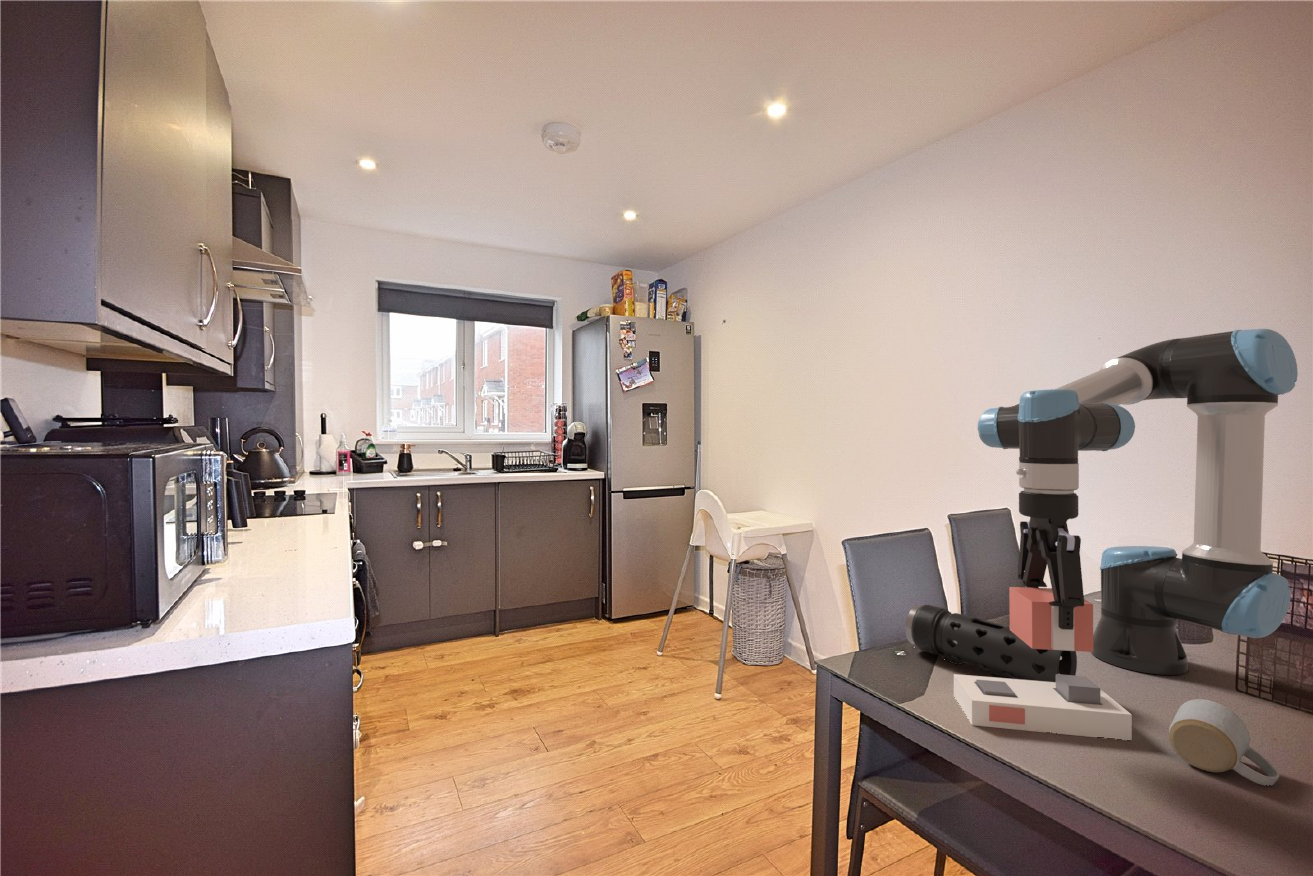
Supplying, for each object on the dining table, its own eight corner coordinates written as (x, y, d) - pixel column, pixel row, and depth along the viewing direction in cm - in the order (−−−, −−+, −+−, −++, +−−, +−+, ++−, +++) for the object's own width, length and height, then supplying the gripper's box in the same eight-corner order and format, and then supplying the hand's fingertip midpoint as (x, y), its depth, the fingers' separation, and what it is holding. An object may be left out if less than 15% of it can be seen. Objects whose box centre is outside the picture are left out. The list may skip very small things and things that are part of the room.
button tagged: (1004, 705, 96) (1004, 681, 96) (1015, 718, 92) (1015, 693, 92) (976, 702, 97) (976, 679, 97) (985, 715, 93) (985, 691, 93)
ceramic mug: (1165, 760, 81) (1166, 707, 80) (1177, 740, 86) (1178, 690, 86) (1275, 799, 72) (1277, 740, 72) (1281, 775, 77) (1283, 719, 77)
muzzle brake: (1056, 707, 97) (1057, 646, 97) (902, 655, 119) (902, 606, 119) (1077, 692, 102) (1077, 634, 102) (926, 645, 125) (926, 598, 125)
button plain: (1085, 700, 93) (1085, 676, 93) (1100, 713, 89) (1100, 688, 89) (1055, 698, 94) (1055, 674, 94) (1068, 710, 90) (1068, 685, 90)
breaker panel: (1096, 709, 95) (1096, 685, 95) (1132, 741, 86) (1132, 715, 85) (953, 696, 100) (953, 674, 100) (972, 726, 90) (972, 701, 90)
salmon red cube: (1065, 632, 90) (1064, 588, 90) (1093, 652, 82) (1093, 604, 82) (1009, 630, 92) (1009, 586, 92) (1032, 648, 84) (1031, 601, 84)
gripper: (994, 484, 98) (994, 615, 98) (1054, 498, 77) (1054, 664, 78) (1042, 484, 96) (1043, 617, 97) (1116, 499, 76) (1116, 668, 76)
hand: (1048, 638), depth 87 cm, fingers closed on salmon red cube, 8 cm apart
